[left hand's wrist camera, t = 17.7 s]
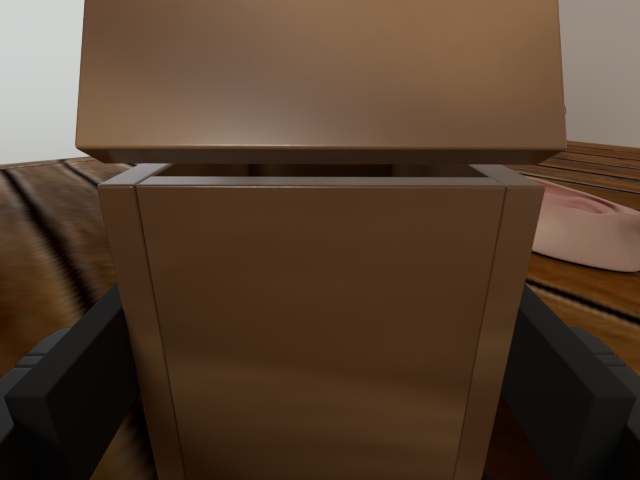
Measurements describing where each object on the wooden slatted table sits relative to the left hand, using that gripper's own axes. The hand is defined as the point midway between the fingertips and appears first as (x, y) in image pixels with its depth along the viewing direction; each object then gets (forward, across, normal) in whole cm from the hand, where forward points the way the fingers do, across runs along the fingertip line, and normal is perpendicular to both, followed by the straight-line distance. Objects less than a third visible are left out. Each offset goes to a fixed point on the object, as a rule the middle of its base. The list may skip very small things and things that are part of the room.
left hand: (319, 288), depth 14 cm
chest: (+4, 0, -6) cm, 8 cm away
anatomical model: (+21, +22, -7) cm, 31 cm away
